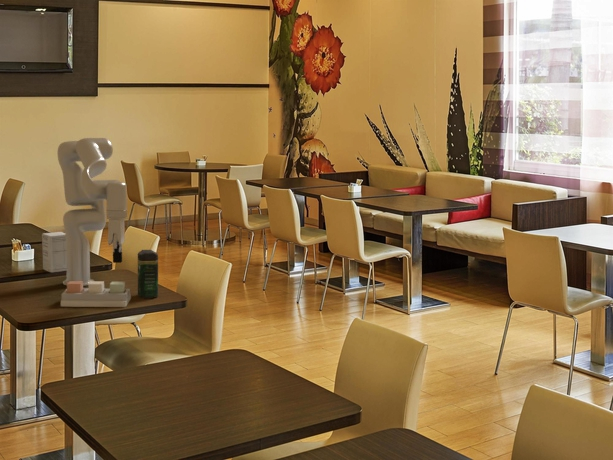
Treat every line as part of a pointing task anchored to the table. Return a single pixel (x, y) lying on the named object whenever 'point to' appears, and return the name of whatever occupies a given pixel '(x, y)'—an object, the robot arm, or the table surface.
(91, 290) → the cream key
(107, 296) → the keypad
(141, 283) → the coffee jar
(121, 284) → the sage key
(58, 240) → the supplement box
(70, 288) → the terracotta key
